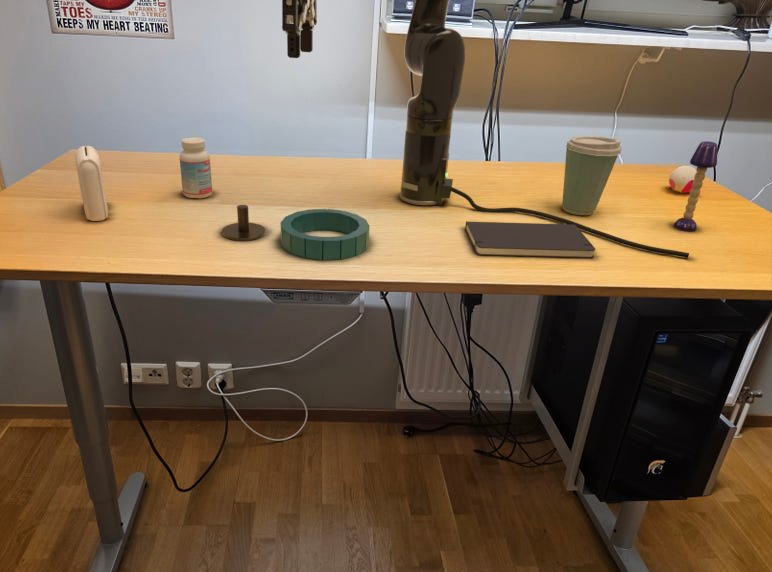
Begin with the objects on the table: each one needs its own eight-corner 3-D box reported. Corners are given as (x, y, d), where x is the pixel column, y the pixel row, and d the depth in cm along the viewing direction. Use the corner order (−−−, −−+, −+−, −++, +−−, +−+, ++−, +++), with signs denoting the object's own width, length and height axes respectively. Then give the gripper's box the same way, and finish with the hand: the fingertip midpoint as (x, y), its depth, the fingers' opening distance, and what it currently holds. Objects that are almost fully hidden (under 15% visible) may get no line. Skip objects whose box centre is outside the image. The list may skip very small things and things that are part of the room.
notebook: (573, 232, 127) (464, 229, 126) (575, 224, 126) (465, 221, 126) (595, 258, 116) (476, 255, 116) (597, 250, 116) (477, 246, 115)
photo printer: (84, 204, 130) (72, 141, 124) (107, 203, 131) (96, 140, 125) (85, 222, 122) (73, 155, 115) (109, 220, 123) (98, 154, 117)
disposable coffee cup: (543, 209, 138) (558, 136, 130) (567, 198, 144) (583, 128, 136) (590, 223, 132) (609, 147, 124) (613, 211, 138) (632, 138, 130)
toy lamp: (684, 233, 129) (712, 147, 120) (665, 225, 132) (690, 140, 123) (700, 229, 131) (729, 144, 122) (681, 222, 134) (707, 138, 125)
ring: (374, 231, 124) (375, 213, 122) (358, 264, 111) (359, 245, 109) (295, 222, 126) (294, 205, 124) (270, 253, 113) (269, 234, 111)
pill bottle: (206, 200, 135) (201, 145, 129) (178, 197, 136) (172, 142, 130) (217, 191, 140) (213, 137, 134) (190, 188, 141) (185, 135, 135)
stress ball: (676, 210, 150) (699, 191, 145) (654, 183, 152) (676, 163, 147) (692, 202, 154) (715, 184, 149) (671, 176, 156) (693, 157, 151)
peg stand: (271, 227, 123) (270, 201, 121) (257, 243, 117) (256, 216, 114) (231, 223, 125) (229, 197, 122) (215, 238, 118) (213, 211, 115)
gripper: (310, -48, 106) (310, 61, 115) (330, -48, 118) (329, 51, 126) (265, -50, 107) (269, 58, 116) (290, -50, 119) (291, 48, 128)
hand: (300, 54), depth 121 cm, fingers open, 8 cm apart
